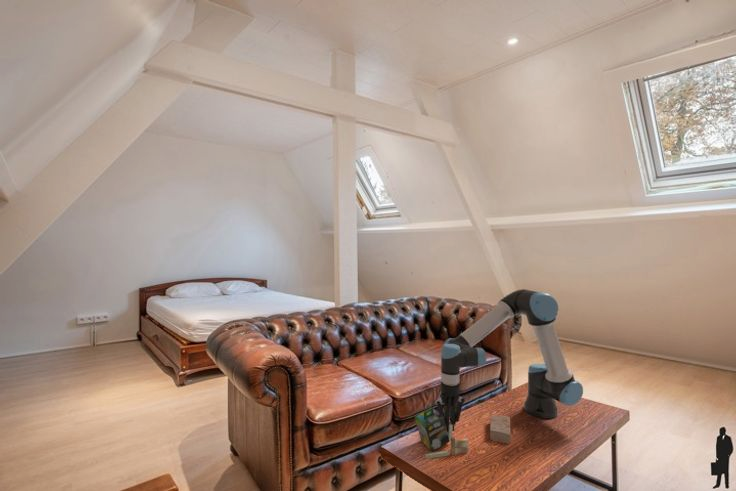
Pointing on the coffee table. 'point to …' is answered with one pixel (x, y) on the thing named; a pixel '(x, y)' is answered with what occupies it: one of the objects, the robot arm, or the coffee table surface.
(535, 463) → the coffee table surface
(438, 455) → the kerb
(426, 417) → the chalk box
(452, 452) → the chute
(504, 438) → the brick
